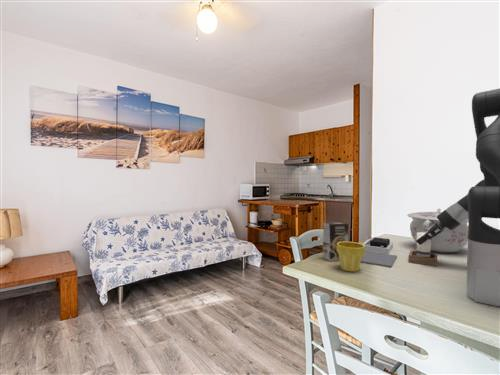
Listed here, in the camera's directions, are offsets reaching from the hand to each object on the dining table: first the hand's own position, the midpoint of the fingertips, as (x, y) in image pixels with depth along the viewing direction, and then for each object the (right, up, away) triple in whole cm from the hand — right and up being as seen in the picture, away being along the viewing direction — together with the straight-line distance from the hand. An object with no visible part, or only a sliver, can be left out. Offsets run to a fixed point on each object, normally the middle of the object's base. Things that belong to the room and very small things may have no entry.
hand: (418, 241), depth 115 cm
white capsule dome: (+2, -8, -1) cm, 8 cm away
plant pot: (-33, -9, -10) cm, 36 cm away
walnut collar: (+2, -8, -1) cm, 9 cm away
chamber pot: (+22, -8, +19) cm, 30 cm away
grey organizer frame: (-8, -8, +21) cm, 23 cm away
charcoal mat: (-18, -8, +3) cm, 20 cm away
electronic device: (-7, -8, +19) cm, 22 cm away
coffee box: (-35, -8, +3) cm, 36 cm away
